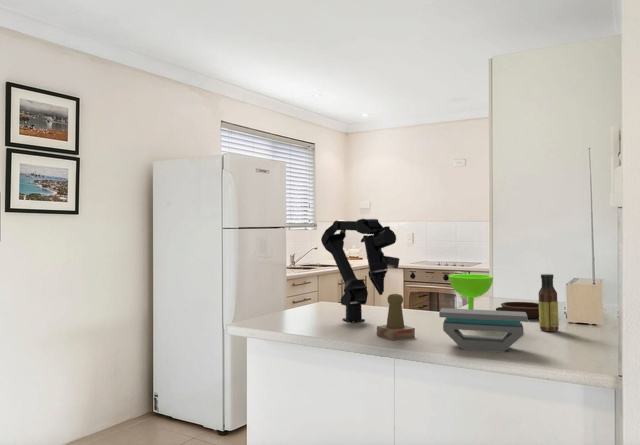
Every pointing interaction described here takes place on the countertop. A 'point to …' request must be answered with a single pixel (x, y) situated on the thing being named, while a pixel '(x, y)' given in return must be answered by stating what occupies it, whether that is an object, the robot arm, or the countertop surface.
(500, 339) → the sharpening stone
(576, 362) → the countertop surface
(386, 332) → the tan flat block
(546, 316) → the sauce bottle
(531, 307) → the dish
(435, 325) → the countertop surface
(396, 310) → the olive tall rounded piece
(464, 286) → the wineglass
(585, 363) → the countertop surface
